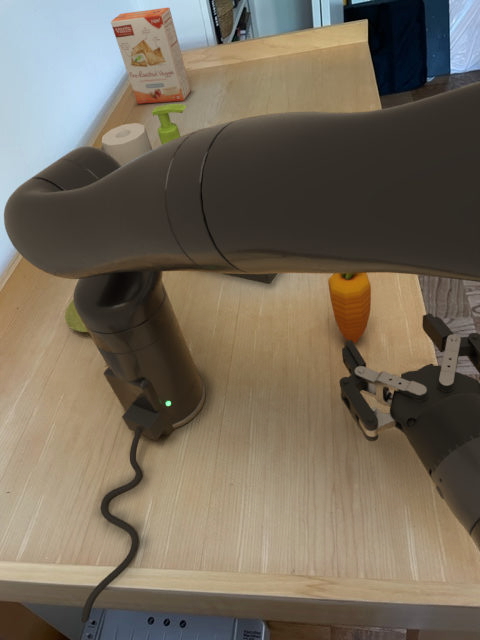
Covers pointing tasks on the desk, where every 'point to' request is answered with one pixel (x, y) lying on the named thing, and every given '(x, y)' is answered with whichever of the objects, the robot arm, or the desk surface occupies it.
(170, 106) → the soap dispenser
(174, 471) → the desk surface
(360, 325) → the carrot
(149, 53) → the cracker box
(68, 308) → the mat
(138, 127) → the toilet tissue
